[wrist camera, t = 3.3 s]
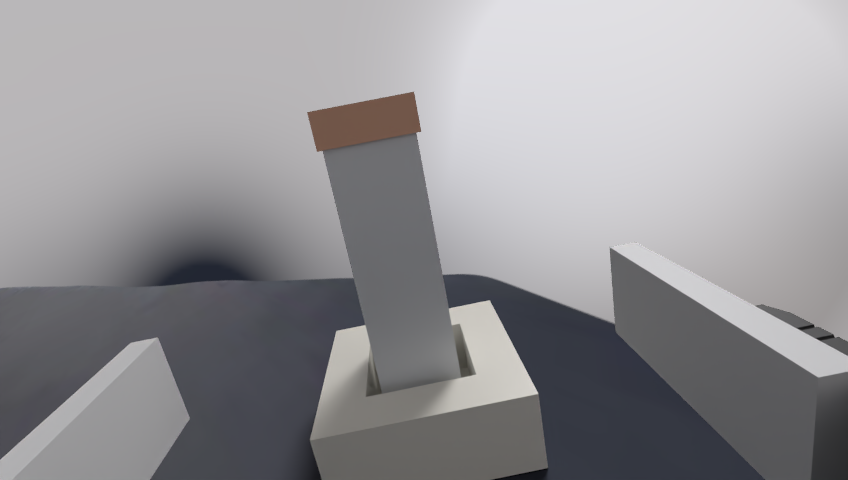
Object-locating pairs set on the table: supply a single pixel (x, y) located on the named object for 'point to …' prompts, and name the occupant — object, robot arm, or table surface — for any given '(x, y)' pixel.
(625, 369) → the table surface
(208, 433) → the table surface
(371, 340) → the plug
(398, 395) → the white square base
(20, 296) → the table surface
